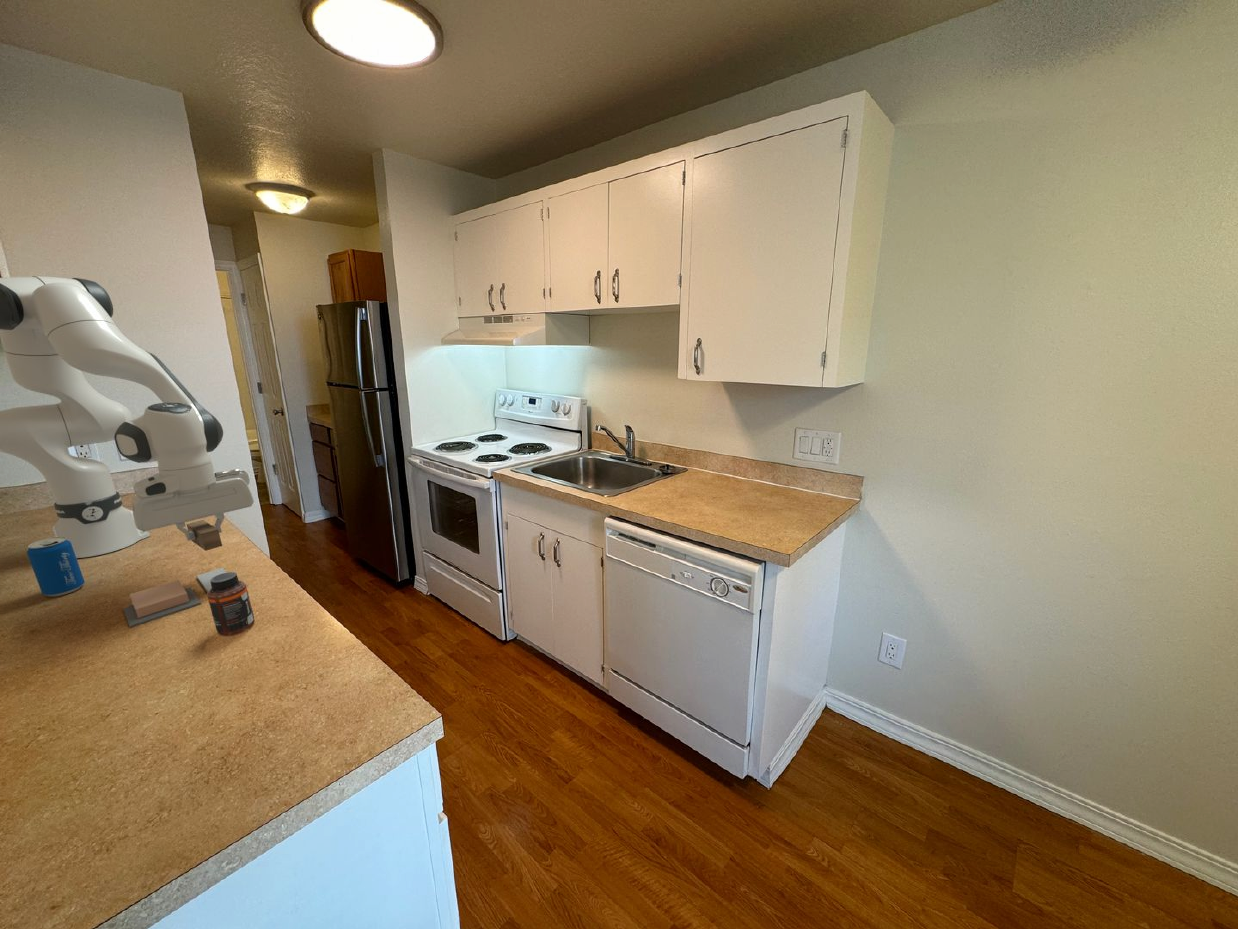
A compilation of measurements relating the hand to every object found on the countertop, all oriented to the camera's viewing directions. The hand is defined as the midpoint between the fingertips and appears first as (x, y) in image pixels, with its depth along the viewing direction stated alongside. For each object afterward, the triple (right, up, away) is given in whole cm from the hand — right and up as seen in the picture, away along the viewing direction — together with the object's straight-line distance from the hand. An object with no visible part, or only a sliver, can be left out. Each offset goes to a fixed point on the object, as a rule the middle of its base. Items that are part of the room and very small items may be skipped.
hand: (204, 536), depth 110 cm
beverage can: (-32, -13, 0) cm, 34 cm away
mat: (-3, -14, -7) cm, 16 cm away
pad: (0, -11, +3) cm, 12 cm away
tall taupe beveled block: (0, -2, 0) cm, 2 cm away
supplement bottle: (+19, -16, -14) cm, 28 cm away
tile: (-8, -12, -3) cm, 14 cm away
